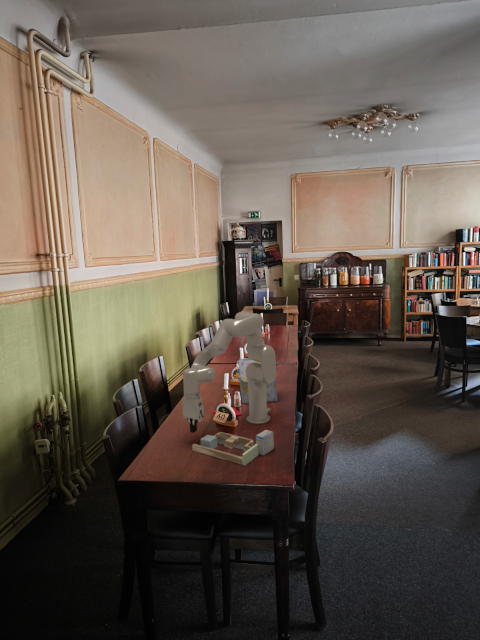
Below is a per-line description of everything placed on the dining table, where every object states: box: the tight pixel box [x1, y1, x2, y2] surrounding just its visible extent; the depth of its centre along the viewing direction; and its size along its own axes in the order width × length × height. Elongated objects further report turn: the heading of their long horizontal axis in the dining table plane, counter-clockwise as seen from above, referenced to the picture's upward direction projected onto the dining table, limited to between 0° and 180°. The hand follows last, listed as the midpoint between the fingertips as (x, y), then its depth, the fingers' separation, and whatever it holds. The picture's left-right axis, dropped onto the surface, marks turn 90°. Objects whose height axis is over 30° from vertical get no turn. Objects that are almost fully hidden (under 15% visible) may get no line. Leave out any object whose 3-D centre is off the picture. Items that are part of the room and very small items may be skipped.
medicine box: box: [255, 429, 275, 456], centre depth 196 cm, size 8×4×9 cm, turn 141°
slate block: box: [200, 434, 218, 450], centre depth 202 cm, size 6×6×5 cm
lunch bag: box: [237, 357, 278, 404], centre depth 261 cm, size 22×17×26 cm
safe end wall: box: [241, 443, 260, 466], centre depth 189 cm, size 11×1×5 cm, turn 146°
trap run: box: [191, 431, 255, 466], centre depth 200 cm, size 18×28×3 cm, turn 56°
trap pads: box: [217, 439, 245, 451], centre depth 205 cm, size 5×18×1 cm, turn 56°
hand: (193, 431), depth 206 cm, fingers closed
